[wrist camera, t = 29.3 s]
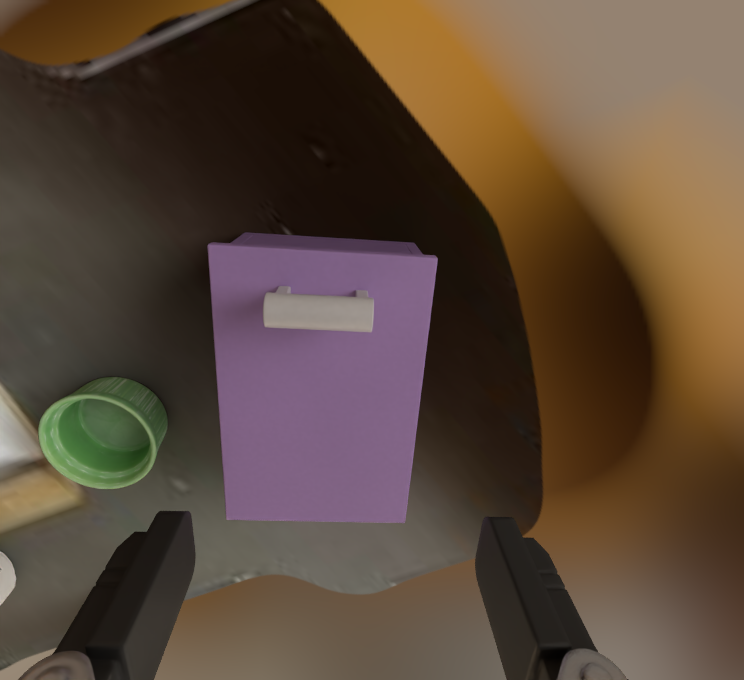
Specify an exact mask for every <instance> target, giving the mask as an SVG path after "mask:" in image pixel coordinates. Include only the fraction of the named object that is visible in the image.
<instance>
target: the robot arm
mask: <svg viewBox="0 0 744 680" xmlns="http://www.w3.org/2000/svg"><path fill="white" fill-rule="evenodd" d="M194 567H195V545H194V536H193V527H192V518H191V514H190V512H189V511H159V512H158V513H157V514H156V516H155V518H154V520H153V522H152V523H151V525H150V527H149V529H148V531H147V532H134V533H133V534H132V535H131V536H130V537H128V538H127V539H126V540H125V541H124V542H123V543H122V544H121V545H120V546H118V547H117V549H116V550H115V552H114V554H113V555H112V557H111V559H110V560H109V562H108V564H107V565H106V569H105V570H103V572H102V574H101V575H100V577H99V579H98V580H97V582H96V586H94V587H93V589H92V590H91V592H90V594H89V595H88V597H87V599H86V600H85V602H84V604H83V605H82V607H81V609H80V610H79V612H78V614H77V616H76V617H75V619H74V621H73V622H72V624H71V626H70V627H69V629H68V631H67V632H66V634H65V636H64V637H63V639H62V641H61V642H60V644H59V646H58V647H57V649H56V650H55V652H54V653H53V654H52V655H51V656H48V657H46V658H44V659H42V660H41V661H39V662H38V663H36V664H35V665H33V666H32V667H31V668H30V669H28V670H27V671H26V672H25V673H24V674H23V675H22V676H21V677H20V678H19V679H18V680H154V678H155V675H156V672H157V670H158V667H159V664H160V662H161V659H162V656H163V654H164V651H165V648H166V646H167V643H168V640H169V638H170V635H171V632H172V630H173V627H174V624H175V621H176V619H177V616H178V614H179V611H180V608H181V605H182V603H183V600H184V598H185V595H186V592H187V590H188V587H189V584H190V582H191V579H192V576H193V572H194ZM475 568H476V577H477V581H478V585H479V588H480V592H481V595H482V598H483V602H484V605H485V608H486V612H487V615H488V618H489V622H490V625H491V628H492V631H493V635H494V638H495V642H496V645H497V648H498V652H499V655H500V658H501V662H502V665H503V668H504V672H505V675H506V678H507V680H628V679H627V678H626V677H625V675H624V674H623V673H622V671H621V670H620V669H619V668H618V667H617V666H616V665H615V664H614V663H613V662H612V661H611V660H609V659H608V658H606V657H605V656H603V655H602V654H600V653H598V651H597V649H596V647H595V646H594V644H593V642H592V640H591V638H590V636H589V634H588V632H587V630H586V628H585V626H584V624H583V622H582V620H581V618H580V616H579V614H578V612H577V610H576V608H575V606H574V604H573V602H572V600H571V598H570V596H569V594H568V592H567V590H565V586H564V584H563V582H562V580H561V578H560V576H559V575H558V574H557V570H556V568H555V566H554V564H553V562H552V560H551V558H550V556H549V554H548V553H547V552H546V551H545V550H544V549H543V547H542V546H541V545H540V544H539V543H538V542H537V541H536V540H535V539H534V538H523V537H522V535H521V533H520V530H519V528H518V526H517V524H516V522H515V520H514V519H513V518H512V517H485V518H484V520H483V523H482V528H481V533H480V538H479V543H478V548H477V553H476V559H475Z"/></svg>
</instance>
